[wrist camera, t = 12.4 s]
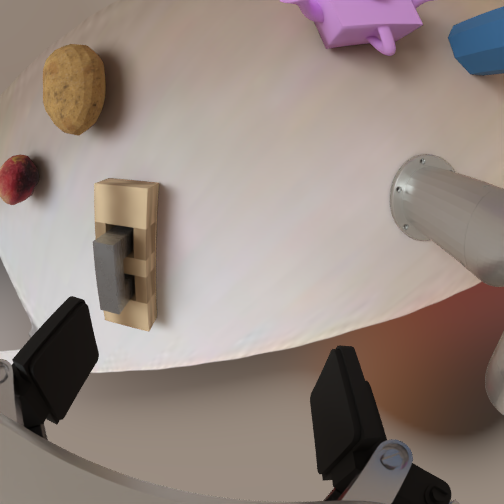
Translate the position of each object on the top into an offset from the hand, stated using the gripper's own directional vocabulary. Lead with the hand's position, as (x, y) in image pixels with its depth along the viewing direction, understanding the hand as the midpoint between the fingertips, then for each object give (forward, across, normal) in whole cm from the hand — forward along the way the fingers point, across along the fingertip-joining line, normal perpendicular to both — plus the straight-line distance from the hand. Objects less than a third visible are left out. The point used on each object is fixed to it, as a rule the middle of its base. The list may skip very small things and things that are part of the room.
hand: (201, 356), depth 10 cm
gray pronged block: (+28, +16, +11) cm, 34 cm away
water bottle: (+28, -30, -32) cm, 52 cm away
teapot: (+29, -9, -27) cm, 40 cm away
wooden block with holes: (+28, +16, +11) cm, 34 cm away
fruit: (+28, +37, 0) cm, 47 cm away
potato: (+29, +25, -13) cm, 40 cm away
